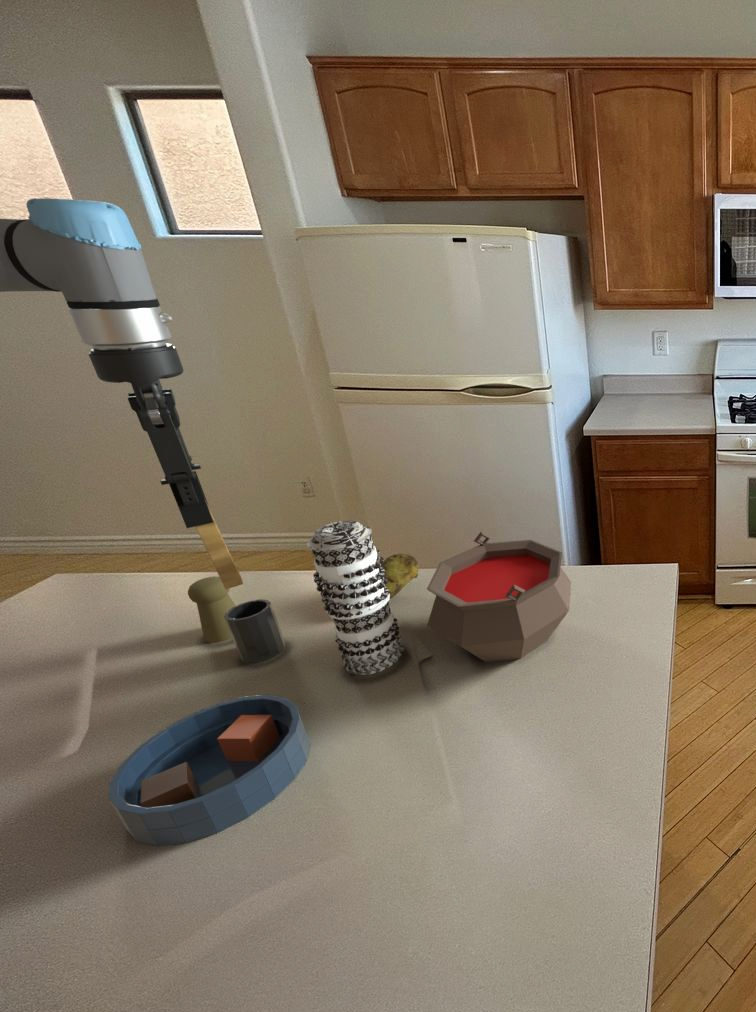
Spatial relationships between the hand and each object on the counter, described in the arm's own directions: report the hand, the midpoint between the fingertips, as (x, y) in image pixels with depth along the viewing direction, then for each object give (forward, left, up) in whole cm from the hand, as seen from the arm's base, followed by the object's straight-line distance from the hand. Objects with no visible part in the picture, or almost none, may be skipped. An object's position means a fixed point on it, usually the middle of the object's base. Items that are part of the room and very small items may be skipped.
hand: (199, 520), depth 75 cm
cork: (-19, -3, -28) cm, 34 cm away
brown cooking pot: (+15, +33, -28) cm, 46 cm away
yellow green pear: (-12, +21, -28) cm, 37 cm away
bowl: (+19, -6, -28) cm, 34 cm away
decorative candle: (+7, +14, -28) cm, 33 cm away
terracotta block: (+16, -3, -27) cm, 32 cm away
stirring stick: (0, +1, -10) cm, 11 cm away
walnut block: (+20, -10, -27) cm, 35 cm away
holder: (-8, +1, -28) cm, 29 cm away
